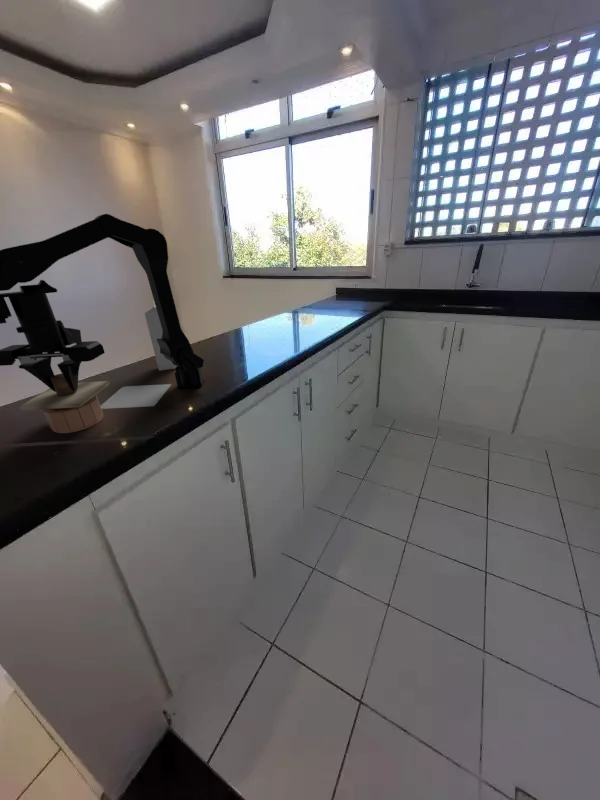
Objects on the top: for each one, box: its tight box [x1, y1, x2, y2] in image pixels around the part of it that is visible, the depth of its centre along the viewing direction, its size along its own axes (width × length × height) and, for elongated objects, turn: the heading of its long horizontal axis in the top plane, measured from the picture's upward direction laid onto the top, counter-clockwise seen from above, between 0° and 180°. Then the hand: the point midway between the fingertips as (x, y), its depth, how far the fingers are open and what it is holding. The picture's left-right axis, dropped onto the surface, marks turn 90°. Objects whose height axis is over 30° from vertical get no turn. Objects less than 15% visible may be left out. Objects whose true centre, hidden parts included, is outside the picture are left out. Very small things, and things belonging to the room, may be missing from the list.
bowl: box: [42, 394, 104, 434], centre depth 70 cm, size 10×10×6 cm
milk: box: [144, 299, 177, 371], centre depth 99 cm, size 6×6×22 cm
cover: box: [18, 373, 110, 411], centre depth 68 cm, size 12×12×5 cm
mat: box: [100, 383, 172, 410], centre depth 83 cm, size 14×14×1 cm
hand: (66, 390), depth 68 cm, fingers closed on cover, 4 cm apart
